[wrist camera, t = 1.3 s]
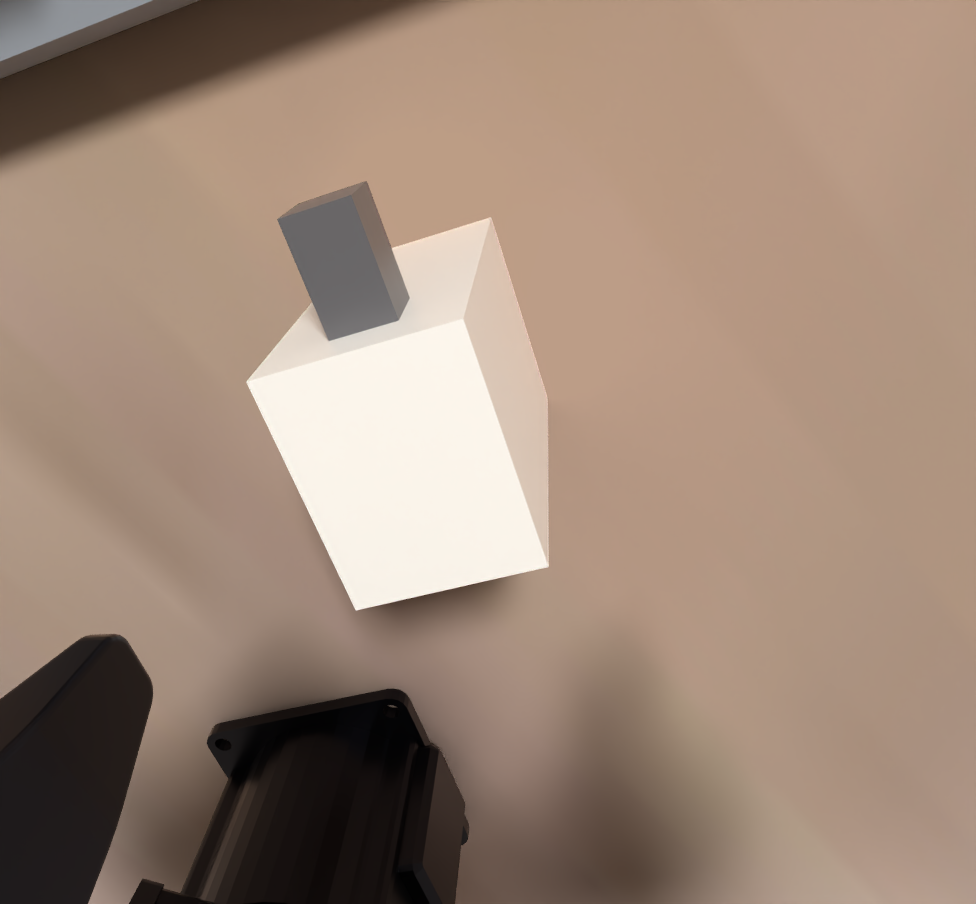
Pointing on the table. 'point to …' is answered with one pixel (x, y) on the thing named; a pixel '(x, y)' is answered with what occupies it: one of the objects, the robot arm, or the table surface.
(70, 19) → the gray block with hole
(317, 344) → the plug
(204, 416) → the table surface
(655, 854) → the table surface
